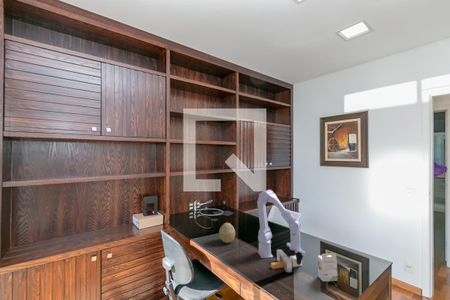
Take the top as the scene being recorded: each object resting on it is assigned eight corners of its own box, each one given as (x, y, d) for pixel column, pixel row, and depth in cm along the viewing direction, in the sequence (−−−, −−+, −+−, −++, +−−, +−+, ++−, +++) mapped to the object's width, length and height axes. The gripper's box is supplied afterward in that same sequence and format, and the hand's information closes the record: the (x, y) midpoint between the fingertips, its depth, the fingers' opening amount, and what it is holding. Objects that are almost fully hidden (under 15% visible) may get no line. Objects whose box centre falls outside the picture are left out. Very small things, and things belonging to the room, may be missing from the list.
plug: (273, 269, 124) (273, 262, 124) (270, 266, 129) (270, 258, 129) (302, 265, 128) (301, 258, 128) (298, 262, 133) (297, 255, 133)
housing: (277, 260, 136) (276, 249, 136) (281, 259, 136) (281, 249, 136) (286, 272, 121) (286, 260, 122) (291, 271, 122) (291, 260, 122)
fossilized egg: (225, 247, 156) (224, 226, 156) (216, 241, 167) (216, 222, 167) (238, 242, 163) (238, 223, 163) (229, 237, 174) (229, 219, 174)
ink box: (332, 275, 117) (332, 249, 118) (337, 281, 112) (337, 253, 113) (317, 276, 117) (317, 249, 117) (322, 281, 112) (321, 253, 112)
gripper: (282, 236, 135) (283, 258, 135) (298, 245, 122) (299, 269, 122) (291, 235, 138) (291, 256, 138) (307, 243, 125) (308, 266, 124)
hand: (295, 262), depth 130 cm, fingers closed on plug, 5 cm apart
